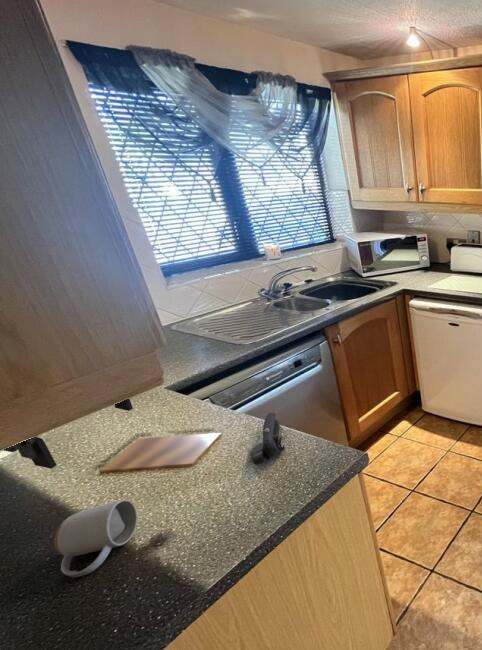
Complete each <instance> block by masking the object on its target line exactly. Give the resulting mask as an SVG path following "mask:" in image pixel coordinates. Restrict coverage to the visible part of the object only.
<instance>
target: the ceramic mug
mask: <svg viewBox="0 0 482 650" xmlns="http://www.w3.org/2000/svg"><path fill="white" fill-rule="evenodd" d="M137 524H138V511H137V508H136V506H135V504H134V503H133V502H132V501H131V500H129V499H119V500H116V501H112V502H109V503H105V504H102V505H98V506H95V507H92V508H88V509H84V510H81V511H78V512H76V513H73V514H72V515H69V516H68V517H66V518H65V519H64V520H62V522H61V523H60V525H59V526H58V527H57V529H56V532H55V535H54V547H55V550H56V552H57V553H58V554H59V555H61V556H63V558H62V561H61V564H60V571H61V573H63V574H64V576H68V577H71V578H79V577H83V576H87V575H89V574H91V573H92V572H94V571H95V570H96V569H98V568H99V567H101V565H102V564H103V563H104V561H105V560H106V559H107V557H108V556H109V554H110V552H111V550H112V549H115V548H118V547H122V546H124V545H126V544H127V543H128V542H129V541H130V540H131V538H133V536H134V534H135V531H136V529H137ZM95 552H96V553H97V552H100V553H99V554H98V556H97V557H96V558H95V559H94V561H93V562H91V563H90V564H89V565H88V566H86V567H85V568H84V569H81V570H80V571H79V570H78V571H77V570H75V569H74V570H70V568H71V566H70V565H71V562H72V560H73V558H74V557H79V556H84V555H87V554H91V553H95Z"/></svg>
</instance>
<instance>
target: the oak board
mask: <svg viewBox="0 0 482 650" xmlns="http://www.w3.org/2000/svg"><path fill="white" fill-rule="evenodd" d="M222 436H223V432H212V433H199V434H198V433H196V434H184V435H183V434H182V435H171V436H170V435H168V436H167V435H166V436H155V437H154V436H153V437H141V438H138V439H136V440H135V441H134V442H132V443H131V444H130V445H129V446H128V447H126V448H125V449H124V450H123V451H121V452H120V453H119V454H117V455H116V456H115V457H114V458H112V460H110V461H109V462H108V463H106V464H105V465H103V467H102V468H100V469H99V470H98V472H99V473H114V472H123V471H124V472H125V471H138V470H139V471H140V470H152V469H165V468H166V469H167V468H178V467H179V468H180V467H192V466H194V465H195V464H196V463H197V462H198V461H199V460H200V459H201V458H202V457H203V456H204V455H205V454H206V453H207V452H208V451H209V449H210V448H211V447H212V446H213V445H214V444H215V443H216V442H217V441H218V440H219V439H220V438H221V437H222Z"/></svg>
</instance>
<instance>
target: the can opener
mask: <svg viewBox="0 0 482 650" xmlns="http://www.w3.org/2000/svg"><path fill="white" fill-rule="evenodd" d="M280 426H281V425H280V421H279V420H277V419H276V413H275V412H269V413H268V414H267V415H266V416H265V419H264V421H263V427H262V443H260V444H259V445H257V446H256V447H254V448H253V449H252V451H251V461H252V462H251V463H253V465H259V464H261V463H265V462H266V461H268V459H269V457H270V458H271V457H276V456H278V455H279V454H281V453H282V452H283V451H285V448H286V447H285V446H284V444H283V439H284V436H283V434H282V433H281V434H280V428H281V427H280Z"/></svg>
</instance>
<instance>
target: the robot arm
mask: <svg viewBox="0 0 482 650" xmlns="http://www.w3.org/2000/svg"><path fill="white" fill-rule="evenodd" d="M114 408H115V409H117V410H118V409H119V410H123V411H127V412H130V411H132V410H133V409H134V407H133V405H132V401H131V398H129V399H126V400H124V401H122V402H120V403H117V404H115V405H114ZM2 451H4V452H9V453H15V452H17V451H18V452H19V453H18V454H19V455H20V456H21V457H22V458H25V459H31V461H32V462H33V464H34V466H37V467H42V468H45V469H51V470H53V468H55V467H57V462H56V461H55V459H54V457H53V455H52V453H51V451H50V449H49V448H48V446H47V444H46V442H45V440H44V439H43V438H41V437H38V435H37V436H36V437H34V438H31V439H28V440H26V441H23V442H21V443H18V444H16V445H14V446H11V447H9V448H6V449H4V450H2Z"/></svg>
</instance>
